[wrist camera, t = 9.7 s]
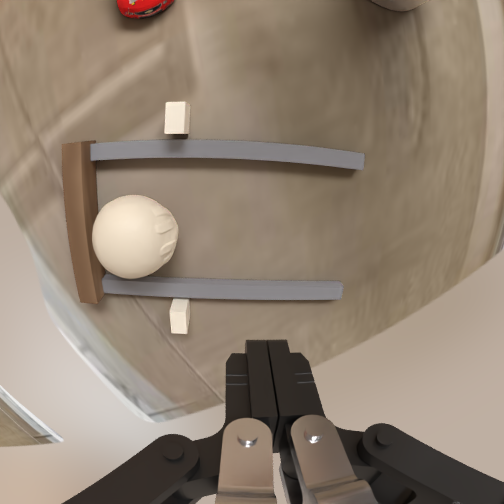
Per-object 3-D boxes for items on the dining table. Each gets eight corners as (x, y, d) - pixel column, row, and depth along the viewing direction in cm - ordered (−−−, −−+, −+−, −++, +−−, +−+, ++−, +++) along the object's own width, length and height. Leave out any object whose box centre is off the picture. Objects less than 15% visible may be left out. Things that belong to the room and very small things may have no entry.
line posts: (190, 105, 23) (185, 101, 20) (190, 316, 30) (187, 333, 28) (173, 105, 23) (166, 102, 20) (175, 315, 30) (171, 333, 27)
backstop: (95, 140, 23) (81, 142, 20) (107, 289, 29) (97, 303, 26) (77, 142, 23) (61, 144, 20) (91, 287, 28) (80, 302, 26)
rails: (359, 152, 25) (364, 153, 24) (337, 293, 31) (340, 299, 29) (96, 143, 23) (90, 144, 22) (107, 287, 28) (103, 292, 27)
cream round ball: (188, 254, 28) (178, 289, 22) (117, 260, 28) (92, 294, 21) (178, 183, 25) (162, 199, 19) (104, 193, 25) (70, 212, 19)
